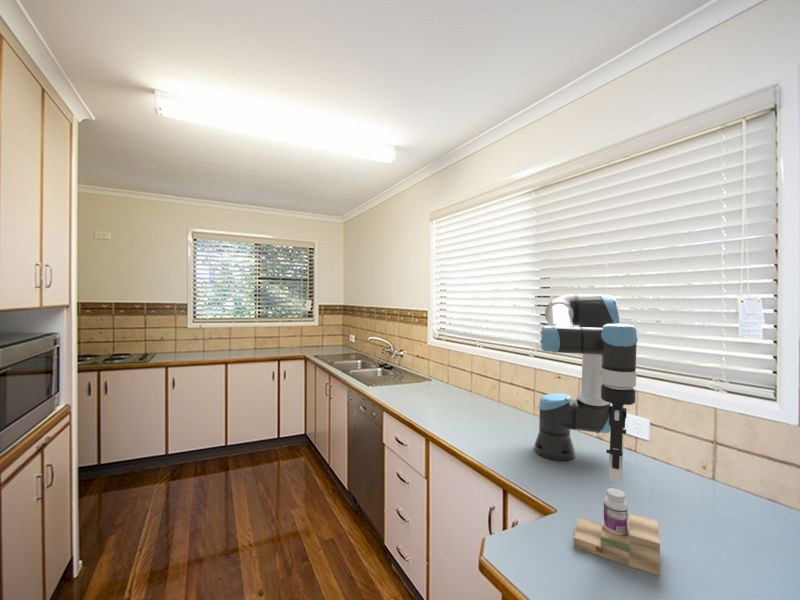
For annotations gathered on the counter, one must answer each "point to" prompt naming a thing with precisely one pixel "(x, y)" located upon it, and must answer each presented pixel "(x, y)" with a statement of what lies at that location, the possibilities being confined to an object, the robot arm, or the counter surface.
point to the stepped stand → (622, 543)
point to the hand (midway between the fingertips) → (616, 468)
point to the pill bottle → (615, 512)
